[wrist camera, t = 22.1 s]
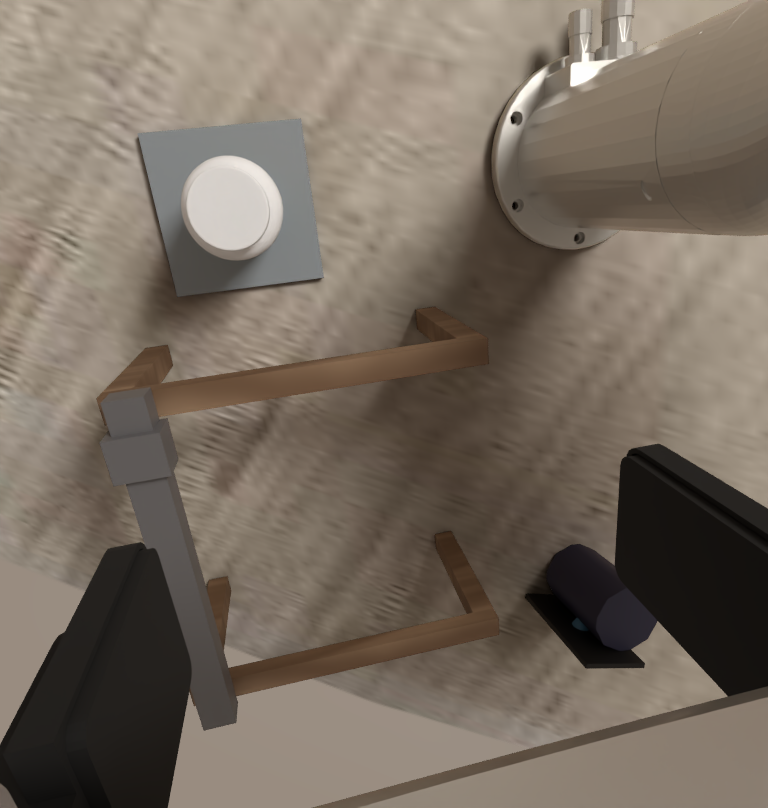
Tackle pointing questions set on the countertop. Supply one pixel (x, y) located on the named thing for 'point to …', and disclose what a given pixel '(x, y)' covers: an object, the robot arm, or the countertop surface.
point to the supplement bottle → (232, 208)
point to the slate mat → (283, 162)
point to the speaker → (593, 610)
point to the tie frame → (445, 352)
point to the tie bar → (169, 539)
